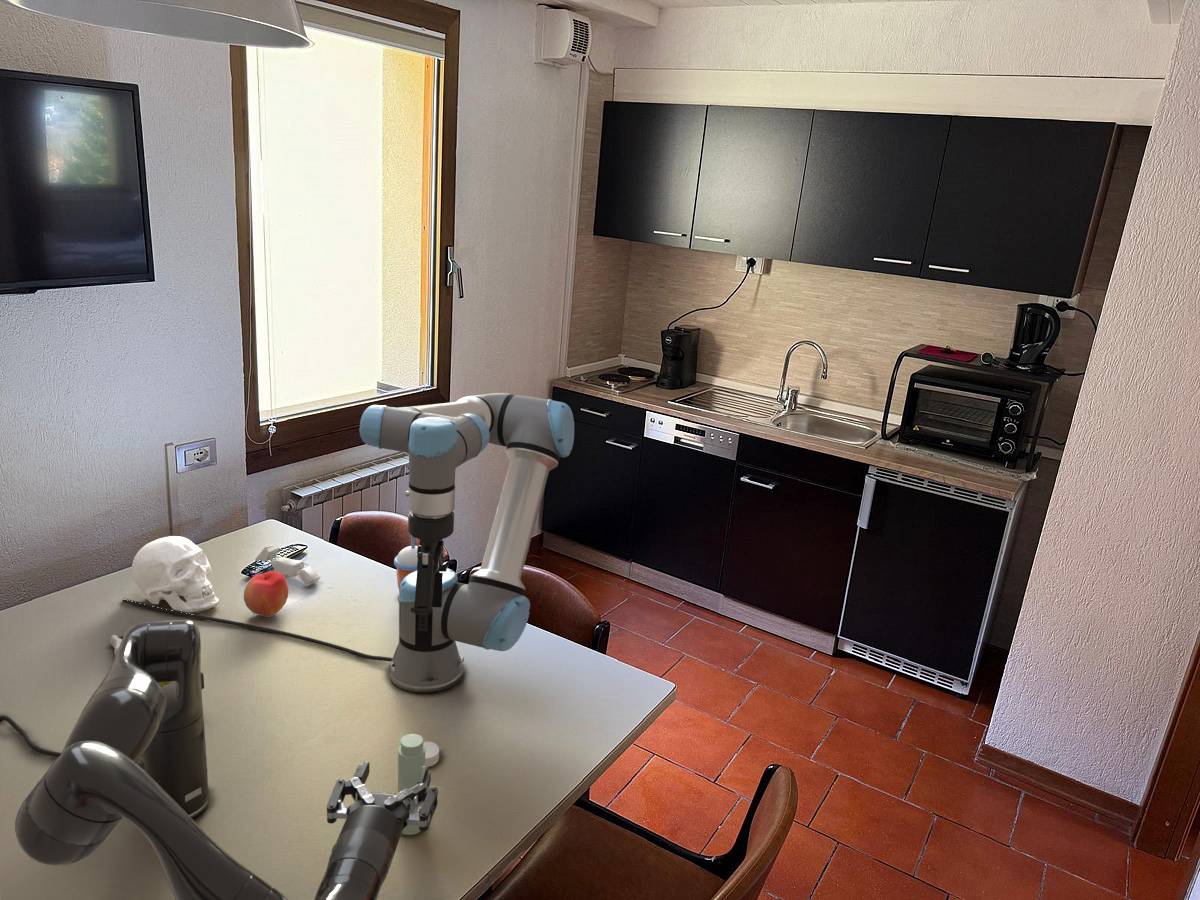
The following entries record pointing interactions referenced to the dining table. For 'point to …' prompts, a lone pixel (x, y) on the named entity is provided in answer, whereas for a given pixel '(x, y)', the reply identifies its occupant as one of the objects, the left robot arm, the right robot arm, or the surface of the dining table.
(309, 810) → the dining table surface
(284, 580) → the apple
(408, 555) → the cup with straw
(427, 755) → the lid
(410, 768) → the pale green cylinder
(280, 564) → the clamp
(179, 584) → the skull
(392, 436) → the right robot arm
